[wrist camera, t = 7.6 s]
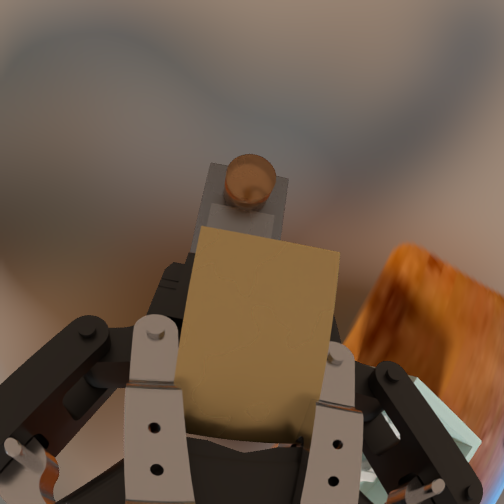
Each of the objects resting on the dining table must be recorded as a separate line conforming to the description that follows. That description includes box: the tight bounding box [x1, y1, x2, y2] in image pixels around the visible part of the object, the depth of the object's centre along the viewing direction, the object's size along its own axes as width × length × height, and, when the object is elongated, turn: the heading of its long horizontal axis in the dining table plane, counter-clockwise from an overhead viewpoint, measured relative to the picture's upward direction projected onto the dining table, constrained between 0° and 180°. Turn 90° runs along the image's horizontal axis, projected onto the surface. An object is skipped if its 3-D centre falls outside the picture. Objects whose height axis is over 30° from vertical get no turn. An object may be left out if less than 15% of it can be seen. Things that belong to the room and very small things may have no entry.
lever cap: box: [174, 226, 340, 444], centre depth 11 cm, size 5×4×9 cm
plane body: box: [190, 154, 288, 253], centre depth 20 cm, size 14×6×5 cm, turn 171°
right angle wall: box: [359, 365, 482, 504], centre depth 17 cm, size 12×12×8 cm
